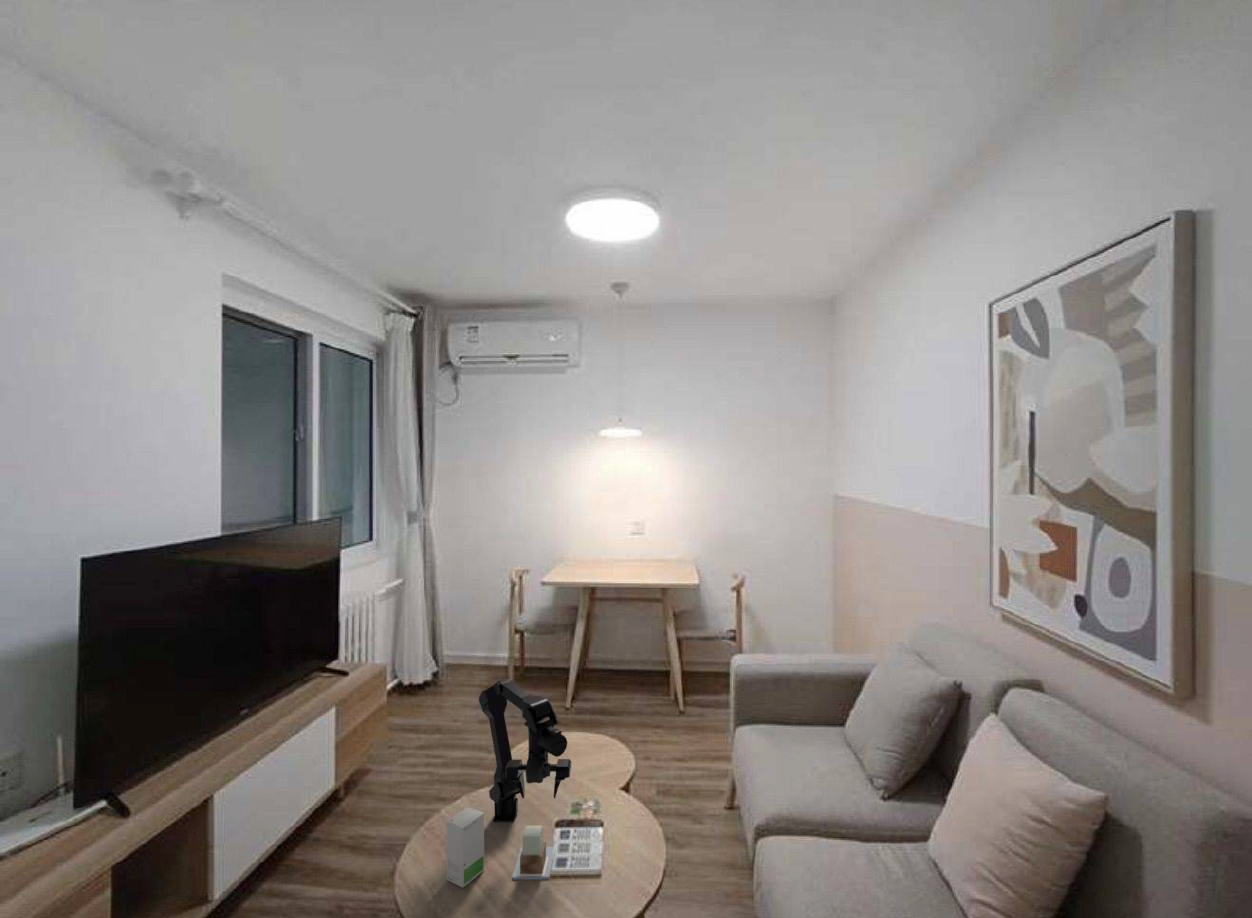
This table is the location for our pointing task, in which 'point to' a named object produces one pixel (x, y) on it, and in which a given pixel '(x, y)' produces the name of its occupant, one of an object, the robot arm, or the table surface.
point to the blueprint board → (535, 876)
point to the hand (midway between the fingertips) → (539, 797)
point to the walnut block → (533, 862)
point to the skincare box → (465, 846)
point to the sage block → (532, 840)
